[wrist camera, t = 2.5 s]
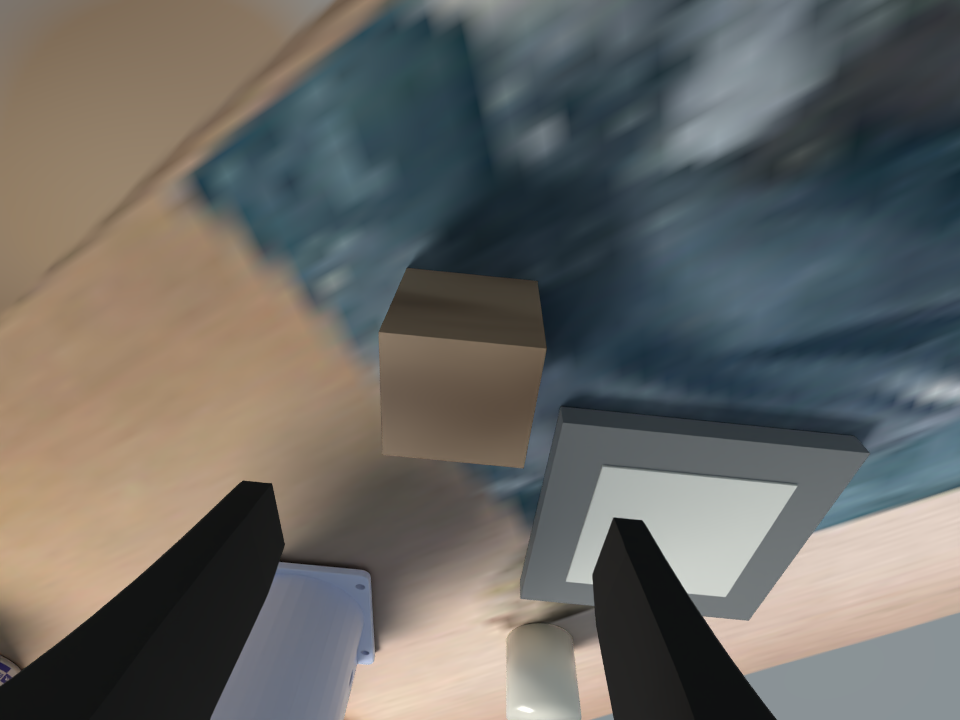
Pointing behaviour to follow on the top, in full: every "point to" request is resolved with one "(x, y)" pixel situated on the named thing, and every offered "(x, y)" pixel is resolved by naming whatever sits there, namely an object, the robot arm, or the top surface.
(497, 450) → the walnut block
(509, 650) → the white capsule cylinder
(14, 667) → the energy drink
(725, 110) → the top surface
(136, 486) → the top surface
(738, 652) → the top surface
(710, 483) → the mat
